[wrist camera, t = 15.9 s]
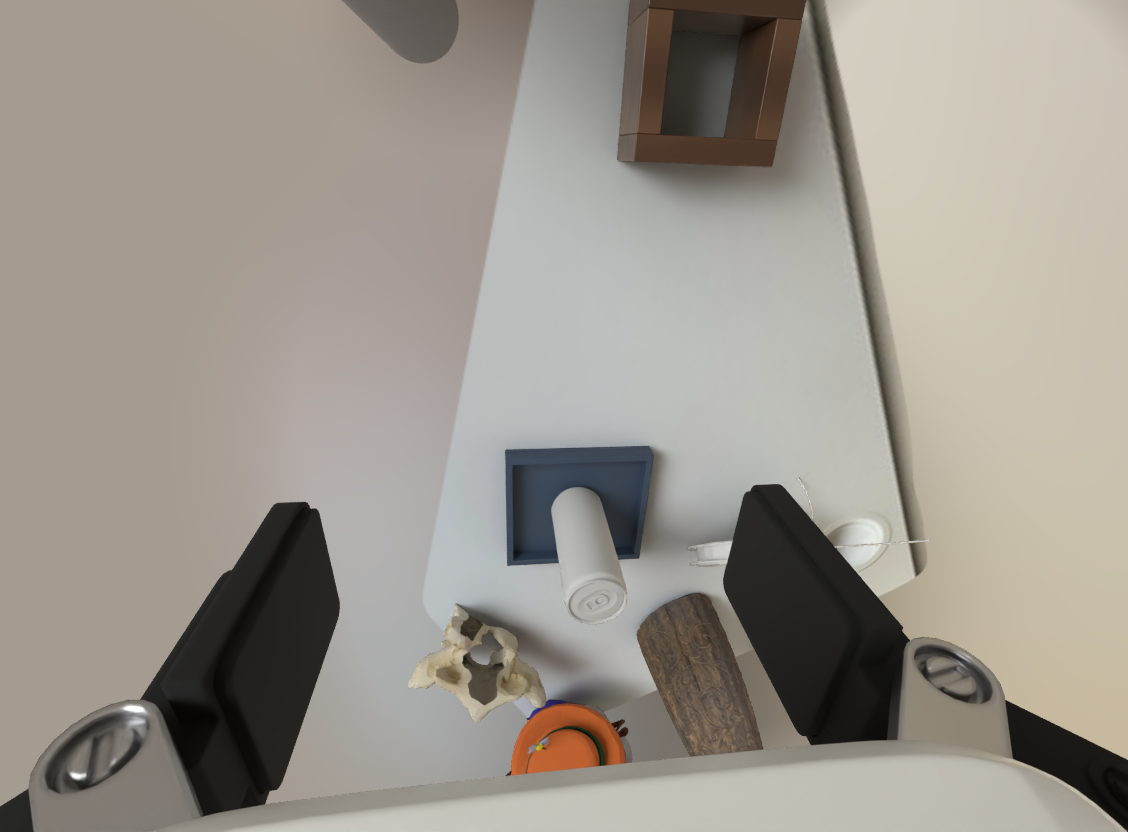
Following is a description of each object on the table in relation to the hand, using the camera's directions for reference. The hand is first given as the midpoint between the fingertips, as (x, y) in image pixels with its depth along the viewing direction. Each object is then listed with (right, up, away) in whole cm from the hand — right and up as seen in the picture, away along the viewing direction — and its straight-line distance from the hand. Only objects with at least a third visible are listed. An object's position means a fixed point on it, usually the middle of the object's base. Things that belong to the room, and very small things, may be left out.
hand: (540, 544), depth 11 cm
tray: (+2, -5, +38) cm, 38 cm away
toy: (+3, -39, +49) cm, 63 cm away
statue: (+13, -20, +47) cm, 53 cm away
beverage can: (+2, -5, +37) cm, 38 cm away
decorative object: (-9, -21, +36) cm, 42 cm away
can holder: (+9, +25, +23) cm, 35 cm away
